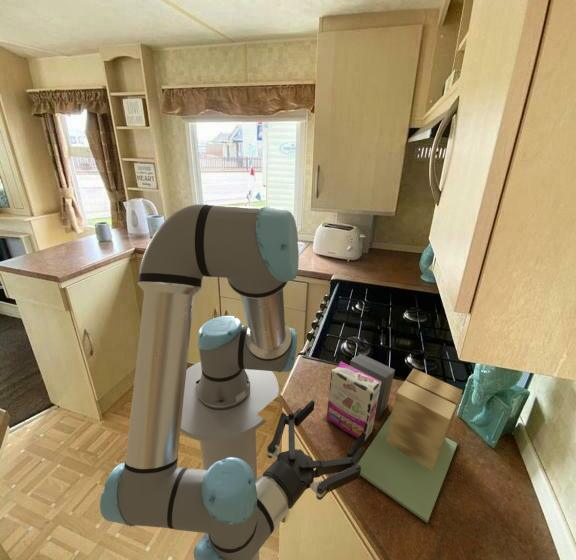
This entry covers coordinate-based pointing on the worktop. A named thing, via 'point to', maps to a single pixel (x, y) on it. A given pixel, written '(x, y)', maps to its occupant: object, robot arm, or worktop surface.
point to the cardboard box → (422, 417)
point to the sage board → (405, 474)
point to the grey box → (379, 373)
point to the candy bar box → (352, 400)
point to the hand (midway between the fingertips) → (337, 420)
